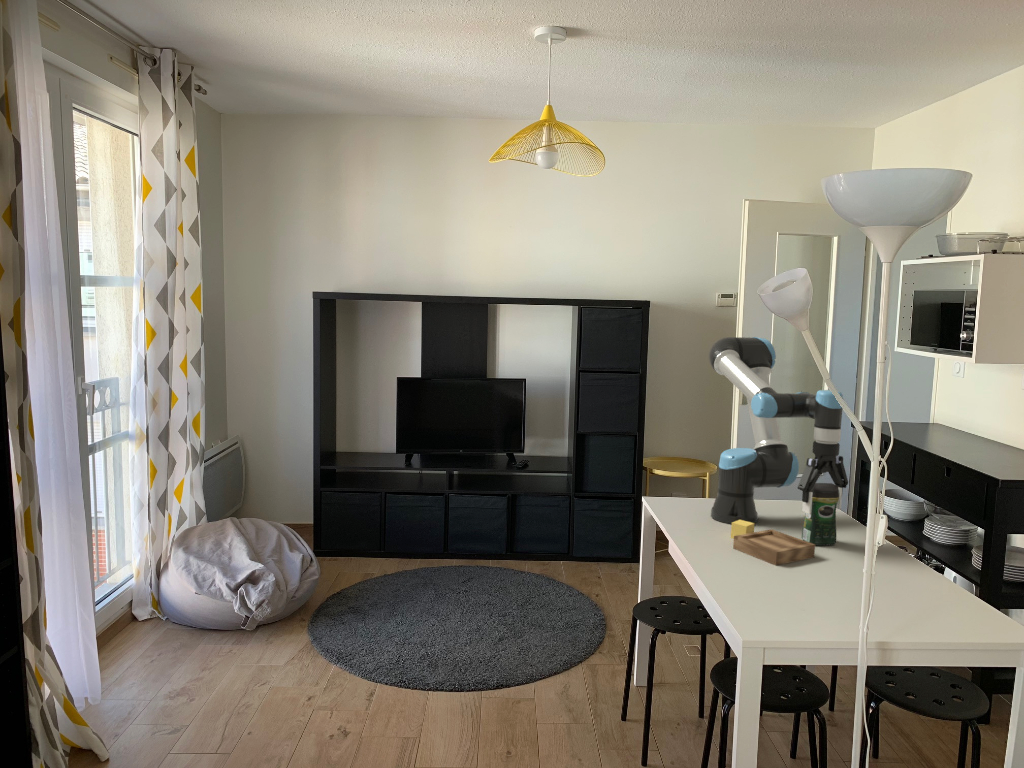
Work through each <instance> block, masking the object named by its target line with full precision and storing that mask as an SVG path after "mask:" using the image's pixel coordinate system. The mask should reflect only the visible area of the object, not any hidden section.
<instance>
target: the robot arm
mask: <svg viewBox="0 0 1024 768" xmlns="http://www.w3.org/2000/svg"><path fill="white" fill-rule="evenodd" d="M776 356H777V355H776V350H775V348H774V345H773V344H772V342H770V340H768V339H766V338H764V337H763V338H762V337H756V336H754V337H745V336H744V337H739V336H738V337H737V336H734V337H733V336H725V337H722V338H720V339H717V340H716V341H715V342H714V343H713V344H712V345H711V347H710V349H709V352H708V361H709V365H710V366H711V368H712V369H713V370H714V371H715V372H716V373H717V374H718V375H720V376H724V377H726V379H728V380H729V382H730V383H731V384H733V386H734V387H736V388H737V389H738V391H740V392H741V393H742V394H743V395H744V397H746V401H747V403H746V404H747V408H748V412H749V413H748V414H749V417H750V422H751V427H752V433H753V438H754V443H755V446H754V447H753V448H749V447H733V448H729V449H725V450H724V451H723V452H721V453H720V456H719V457H720V458H719V463H718V468H719V469H718V482H717V495H716V497H715V500H714V503H713V506H712V507H711V510H710V517H711V519H713V520H715V521H718V522H721V523H726V524H730V525H732V522H735V521H738V520H743V521H747V522H751V523H755V524H756V523H757V522H758V519H759V518H758V517H759V516H758V515H759V514H758V512H757V509H756V505H755V504H756V503H755V498H754V494H755V488H756V489H757V488H758V489H759V488H761V489H762V488H783V487H789V486H791V485H793V484H794V482H796V480H797V478H798V475H799V471H800V469H799V468H800V463H799V459H798V456H797V455H796V454H795V453H794V452H791V451H789V449H788V444H787V443H785V442H784V441H782V436H781V432H780V428H779V422H778V418H779V419H780V418H782V419H783V418H786V419H787V418H791V419H793V418H796V419H797V418H807V419H808V418H809V419H811V420H812V419H813V420H814V424H813V425H814V429H813V441H812V454H814V458H809V457H808V458H806V464H805V467H804V470H803V472H802V475H801V477H800V480H799V481H798V482H799V483H798V485H797V489H798V490H800V491H802V493H801V494H802V496H801V497H802V498H801V501H802V509H801V512H802V513H805V514H806V513H808V514H811V508H812V494H813V492H810V491H811V490H812V488H813V486H814V485H815V483H817V481H818V480H819V479H820V476H821V475H824V473H828V474H829V476H830V479H831V480H832V482H833V484H834V485H836V486H838V489H839V500H838V503H837V506H836V510H837V509H838V510H840V509H841V508H842V498H843V492H844V491H843V490H844V489H846V488H847V486H848V485H849V480H848V476H847V471H846V469H845V465H844V456H842V455H839V454H840V448H841V445H840V442H841V436H842V435H841V433H842V431H841V430H842V429H841V427H842V419H843V409H844V407H843V408H842V407H841V406H840V404H839V403H838V401H837V400H836V398H835V396H834V395H833V394H832V392H831V391H830V390H831V389H830V390H829V389H819V390H818V391H817V392H816V394H814V393H810V392H807V391H805V392H804V391H800V392H799V391H798V392H795V393H782V392H781V393H779V392H777V391H776V390H775V389H774V388H772V387H771V383H770V380H769V376H770V374H771V373H772V369H773V368H774V367H775V364H776V360H775V359H777V357H776ZM837 391H838V390H837ZM838 393H839V394H840V396H841V397H842V399H843V400H844V397H843V396H844V395H843V393H842V392H840V391H838Z"/></svg>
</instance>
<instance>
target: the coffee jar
mask: <svg viewBox="0 0 1024 768" xmlns="http://www.w3.org/2000/svg"><path fill="white" fill-rule="evenodd" d="M810 492H813V494H812V508H811V514H808V513H805V516H804V520H803V526H802V530H801V531H802V532H801V540H804V541H807V542H809V543H812V544H815V546H833V545H836V543H837V516H836V515H837V514H836V513H837V511H836V510H837V508H836V506H837V503H838V500H839V489H838V486H836V485H835V484H834V483H832V482H830V483H829V482H828V483H827V482H816V483H815V485H814V486H813V488H812V490H811V491H810Z"/></svg>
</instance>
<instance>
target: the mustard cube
mask: <svg viewBox="0 0 1024 768" xmlns="http://www.w3.org/2000/svg"><path fill="white" fill-rule="evenodd" d="M755 524H756V523H751V522H747V521H743V520H738V521H735V522H732V524H731V526H730V528H731V529H730V539H732V540H734V536H737V535H742V534H748V533H754V532H755Z"/></svg>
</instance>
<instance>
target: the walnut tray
mask: <svg viewBox="0 0 1024 768" xmlns="http://www.w3.org/2000/svg"><path fill="white" fill-rule="evenodd" d="M732 543H733V547H732V548H733V549H734V550H737V551H738V552H741V553H743V554H746V555H749V556H752V557H753V558H756V559H759V560H760V561H761V560H762V561H764V562H766V563H769V564H771V565H773V566H779V565H784V564H785V565H786V564H789V563H793V562H798V561H803V560H808V559H812V558H815V551H816V545H815V544H812V543H809V542H807V541H804V540H803V539H802V538H797V537H794V536H792V535H789V534H787V533H785V532H781V531H778V530H775V529H772V528H771V529H766V530H761V531H760V530H759V531H754V533H748V534H742V535H737V536H734V539H733V542H732Z"/></svg>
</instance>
